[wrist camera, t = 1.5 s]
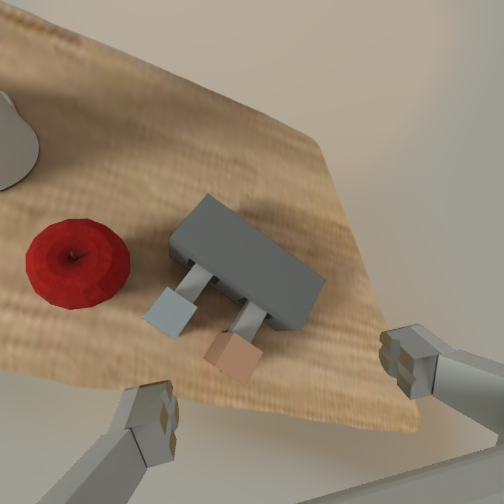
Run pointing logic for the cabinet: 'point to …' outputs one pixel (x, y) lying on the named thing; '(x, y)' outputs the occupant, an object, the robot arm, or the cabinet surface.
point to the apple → (77, 263)
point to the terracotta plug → (238, 345)
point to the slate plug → (178, 303)
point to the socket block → (246, 264)
